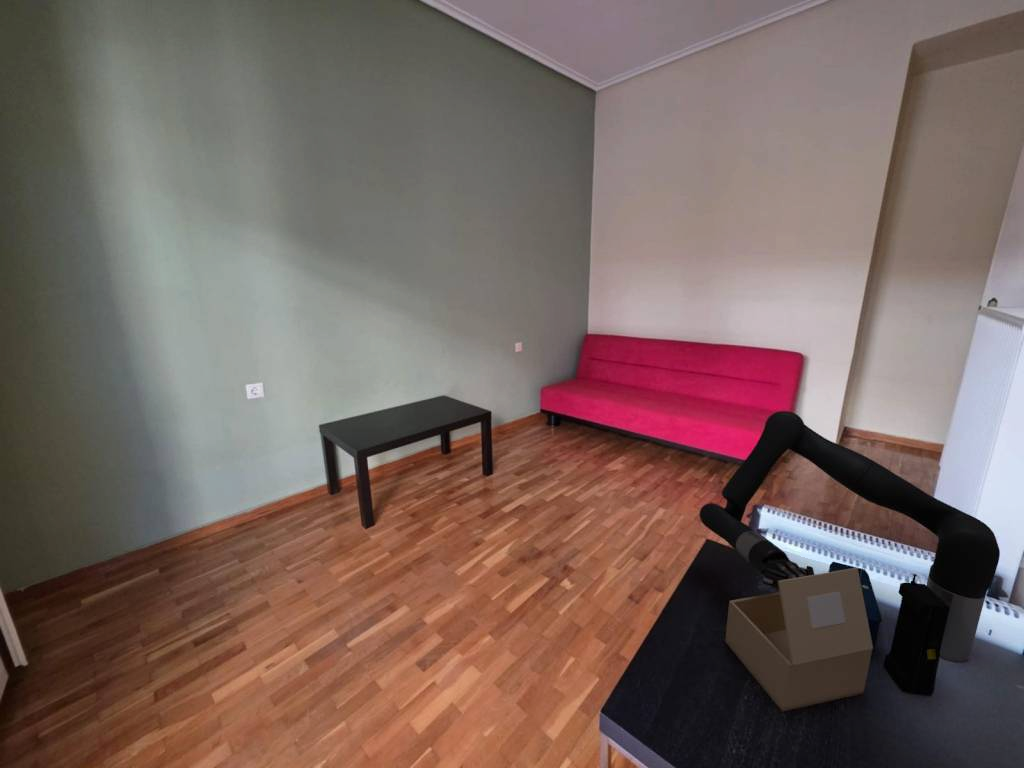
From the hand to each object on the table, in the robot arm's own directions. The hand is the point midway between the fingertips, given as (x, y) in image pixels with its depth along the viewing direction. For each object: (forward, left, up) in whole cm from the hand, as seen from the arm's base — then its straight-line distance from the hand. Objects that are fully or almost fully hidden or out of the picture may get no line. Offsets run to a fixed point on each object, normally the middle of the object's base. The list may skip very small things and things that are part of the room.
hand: (821, 602), depth 87 cm
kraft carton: (-3, -4, -22) cm, 22 cm away
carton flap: (+1, +1, -2) cm, 2 cm away
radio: (-27, +4, -22) cm, 35 cm away
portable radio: (-16, +16, -22) cm, 31 cm away
